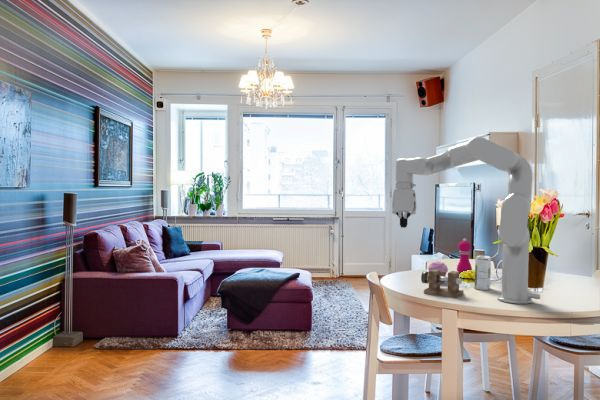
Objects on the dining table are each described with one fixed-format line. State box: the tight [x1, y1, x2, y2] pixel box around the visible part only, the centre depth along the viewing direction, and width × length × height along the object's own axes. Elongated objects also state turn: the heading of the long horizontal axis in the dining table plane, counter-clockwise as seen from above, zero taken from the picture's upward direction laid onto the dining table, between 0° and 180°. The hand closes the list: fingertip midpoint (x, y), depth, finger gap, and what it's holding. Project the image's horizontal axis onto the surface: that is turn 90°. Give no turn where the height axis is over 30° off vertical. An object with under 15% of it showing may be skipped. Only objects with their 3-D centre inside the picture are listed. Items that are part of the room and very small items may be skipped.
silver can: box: [474, 255, 492, 291], centre depth 211 cm, size 6×6×14 cm
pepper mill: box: [456, 238, 473, 274], centre depth 238 cm, size 7×7×20 cm
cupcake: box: [427, 261, 449, 284], centre depth 226 cm, size 9×9×10 cm
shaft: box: [420, 271, 463, 285], centre depth 201 cm, size 16×5×5 cm, turn 56°
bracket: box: [423, 269, 464, 299], centre depth 200 cm, size 14×9×10 cm, turn 56°
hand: (403, 227), depth 212 cm, fingers closed
